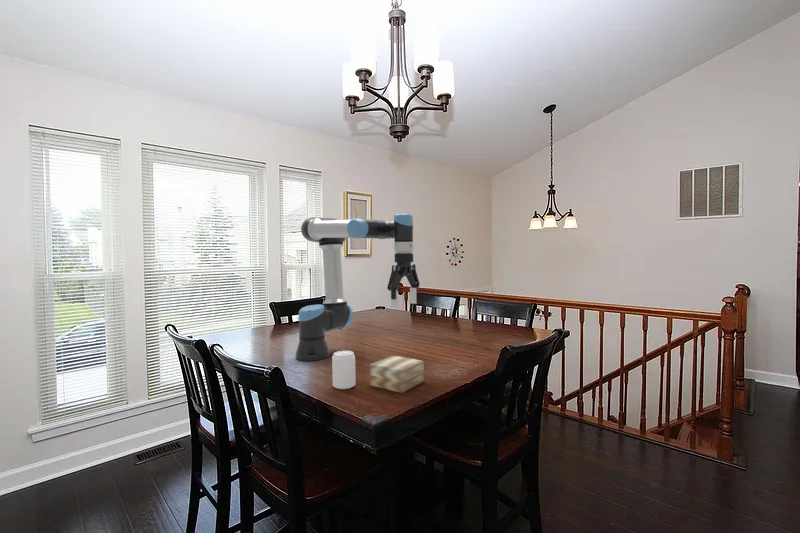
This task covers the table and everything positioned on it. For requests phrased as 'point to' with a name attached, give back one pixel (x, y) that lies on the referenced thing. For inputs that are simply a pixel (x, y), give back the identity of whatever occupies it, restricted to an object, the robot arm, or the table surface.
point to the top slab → (397, 368)
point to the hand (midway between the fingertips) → (404, 305)
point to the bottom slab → (397, 383)
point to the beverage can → (343, 369)
